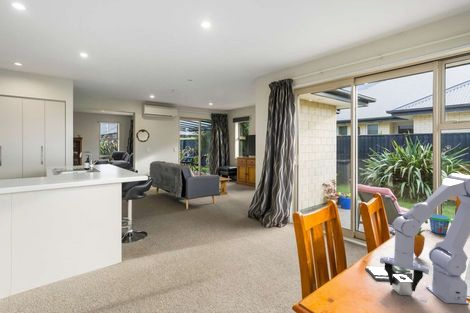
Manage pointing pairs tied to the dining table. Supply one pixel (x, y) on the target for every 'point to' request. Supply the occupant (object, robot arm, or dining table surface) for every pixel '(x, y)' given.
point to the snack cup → (439, 223)
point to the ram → (400, 269)
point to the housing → (402, 284)
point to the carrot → (419, 243)
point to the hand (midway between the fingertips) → (402, 286)
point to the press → (385, 273)
